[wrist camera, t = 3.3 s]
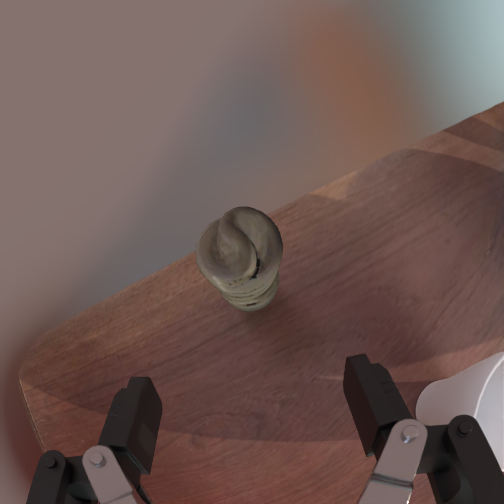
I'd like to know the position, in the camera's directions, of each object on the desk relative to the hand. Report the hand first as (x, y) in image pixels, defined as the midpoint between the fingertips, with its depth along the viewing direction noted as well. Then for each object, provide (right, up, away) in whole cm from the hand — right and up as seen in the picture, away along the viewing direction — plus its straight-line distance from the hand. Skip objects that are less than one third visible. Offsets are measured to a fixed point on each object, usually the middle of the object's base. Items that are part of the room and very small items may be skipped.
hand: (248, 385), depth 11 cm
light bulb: (0, 0, +20) cm, 20 cm away
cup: (+21, -12, +14) cm, 28 cm away
